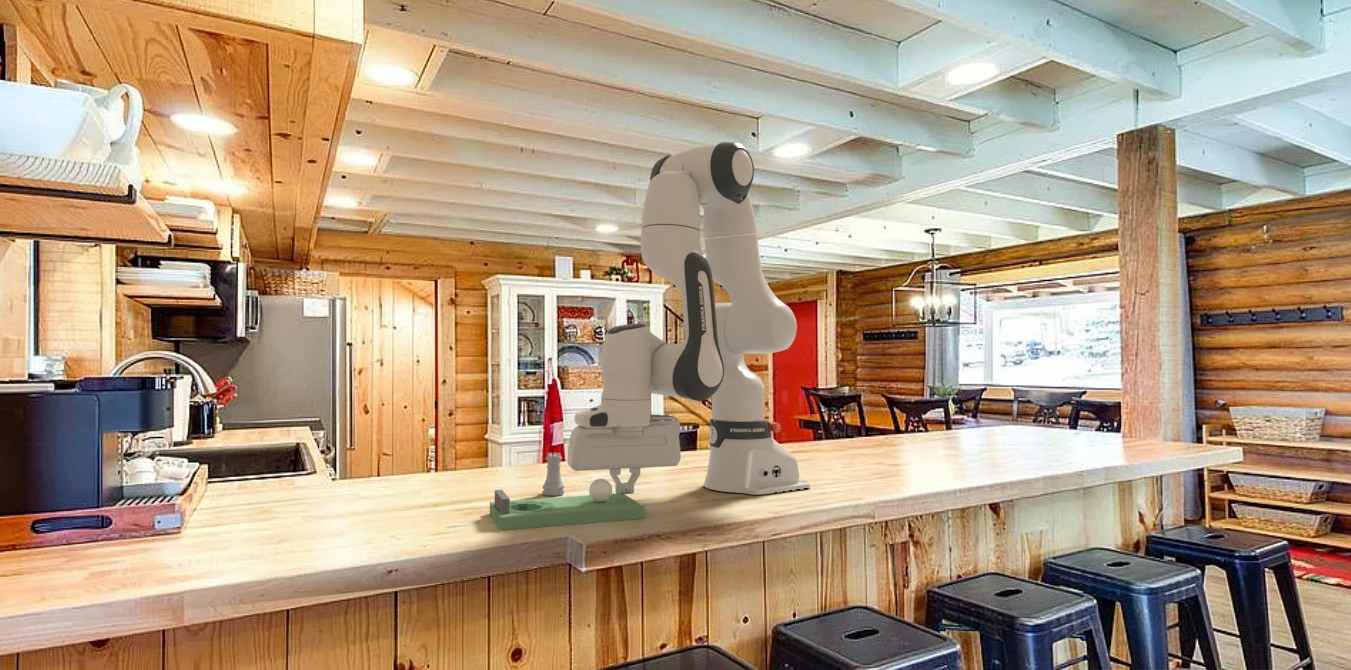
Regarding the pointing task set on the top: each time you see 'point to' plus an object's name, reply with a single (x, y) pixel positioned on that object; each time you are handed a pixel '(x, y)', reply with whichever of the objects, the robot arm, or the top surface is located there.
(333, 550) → the top surface
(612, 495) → the green board
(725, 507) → the top surface
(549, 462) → the rook chess piece
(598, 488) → the ball
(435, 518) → the top surface
